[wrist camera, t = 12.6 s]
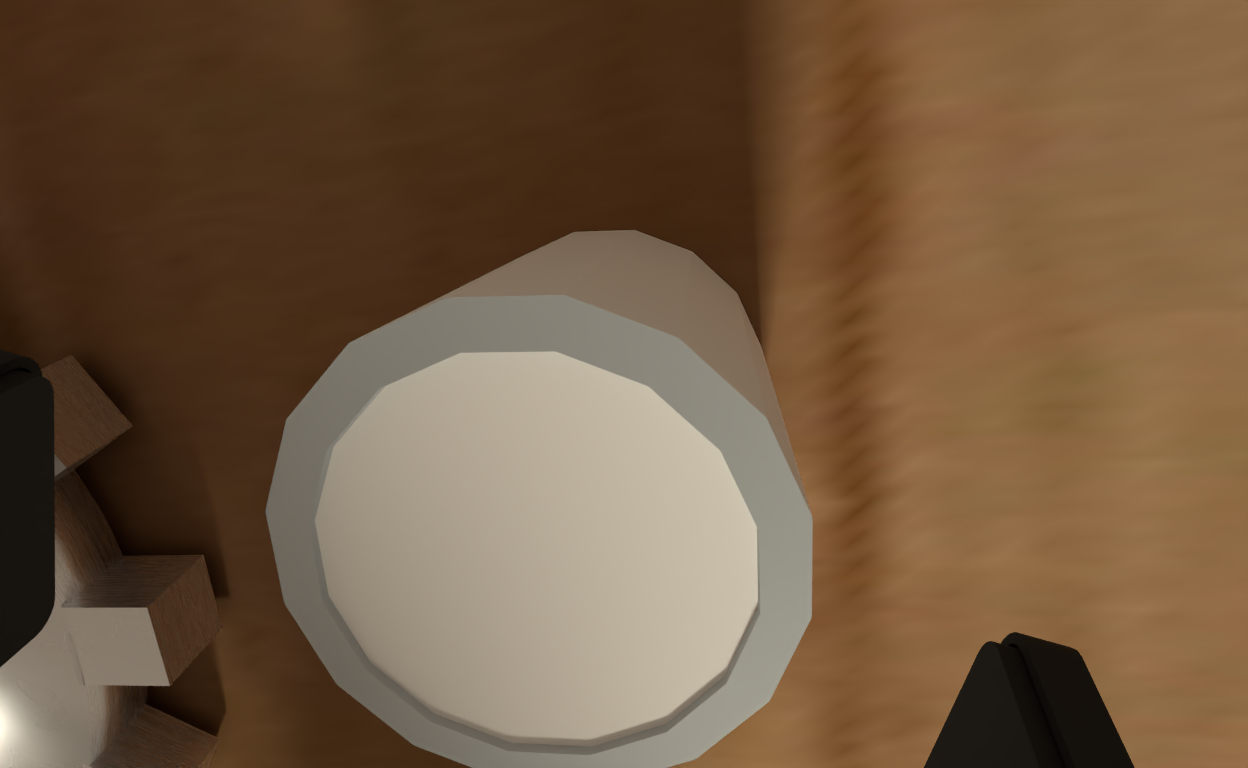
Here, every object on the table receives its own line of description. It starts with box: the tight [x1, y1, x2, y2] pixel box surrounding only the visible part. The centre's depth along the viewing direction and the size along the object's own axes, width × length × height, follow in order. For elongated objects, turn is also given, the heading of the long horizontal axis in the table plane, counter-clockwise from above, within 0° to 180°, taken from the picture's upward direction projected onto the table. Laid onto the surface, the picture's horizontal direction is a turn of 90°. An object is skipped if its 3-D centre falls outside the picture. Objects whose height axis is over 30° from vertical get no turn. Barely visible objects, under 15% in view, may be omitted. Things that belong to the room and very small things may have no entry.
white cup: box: [265, 230, 812, 768], centre depth 15 cm, size 7×7×7 cm
